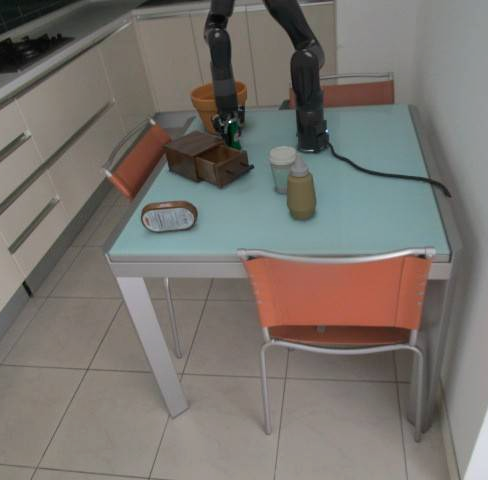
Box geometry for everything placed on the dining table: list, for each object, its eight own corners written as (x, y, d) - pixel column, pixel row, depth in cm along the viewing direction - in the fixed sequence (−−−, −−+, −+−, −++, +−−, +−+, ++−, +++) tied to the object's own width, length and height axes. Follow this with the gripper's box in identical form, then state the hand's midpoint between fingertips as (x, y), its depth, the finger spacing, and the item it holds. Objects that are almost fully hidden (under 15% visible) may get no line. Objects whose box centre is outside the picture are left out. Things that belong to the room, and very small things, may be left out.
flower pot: (188, 138, 176) (180, 99, 167) (209, 116, 192) (202, 80, 183) (241, 139, 170) (235, 100, 161) (257, 117, 186) (253, 79, 177)
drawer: (262, 176, 144) (259, 155, 140) (233, 194, 137) (229, 172, 133) (221, 161, 155) (217, 140, 151) (192, 176, 148) (187, 155, 144)
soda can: (238, 153, 161) (234, 120, 154) (225, 153, 162) (219, 120, 155) (242, 146, 165) (238, 114, 158) (228, 146, 166) (223, 114, 159)
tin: (200, 223, 128) (194, 197, 123) (199, 230, 125) (193, 203, 120) (146, 228, 128) (138, 202, 123) (144, 235, 126) (135, 209, 121)
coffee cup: (303, 182, 141) (301, 146, 134) (295, 197, 134) (292, 159, 127) (276, 180, 143) (273, 144, 136) (267, 194, 137) (263, 157, 130)
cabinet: (229, 165, 154) (225, 139, 149) (197, 182, 147) (192, 156, 141) (200, 154, 163) (195, 130, 157) (169, 170, 155) (163, 145, 150)
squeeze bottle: (297, 226, 123) (292, 164, 112) (282, 212, 128) (276, 153, 118) (323, 216, 125) (321, 155, 114) (307, 203, 131) (304, 144, 120)
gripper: (216, 100, 145) (224, 150, 155) (248, 86, 153) (254, 134, 163) (200, 96, 150) (209, 144, 160) (232, 82, 158) (239, 130, 168)
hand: (232, 139), depth 161 cm, fingers closed on soda can, 5 cm apart
